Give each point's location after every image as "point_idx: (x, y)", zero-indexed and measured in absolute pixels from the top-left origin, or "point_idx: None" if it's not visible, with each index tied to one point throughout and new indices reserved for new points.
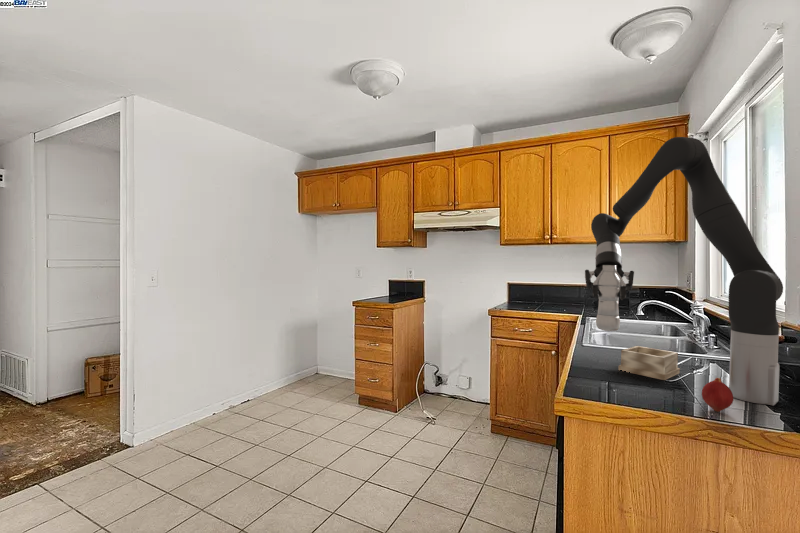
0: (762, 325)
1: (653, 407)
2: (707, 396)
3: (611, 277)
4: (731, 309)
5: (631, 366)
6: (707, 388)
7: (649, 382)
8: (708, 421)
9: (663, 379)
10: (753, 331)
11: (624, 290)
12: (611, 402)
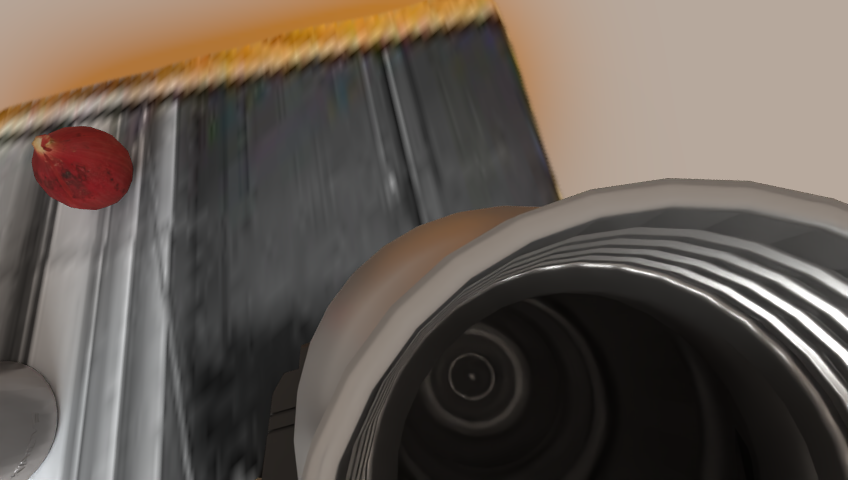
0: None
1: (269, 94)
2: (113, 137)
3: (441, 239)
4: None
5: None
6: (96, 135)
7: None
8: (147, 81)
9: (261, 478)
10: None
11: (285, 448)
12: (372, 55)
